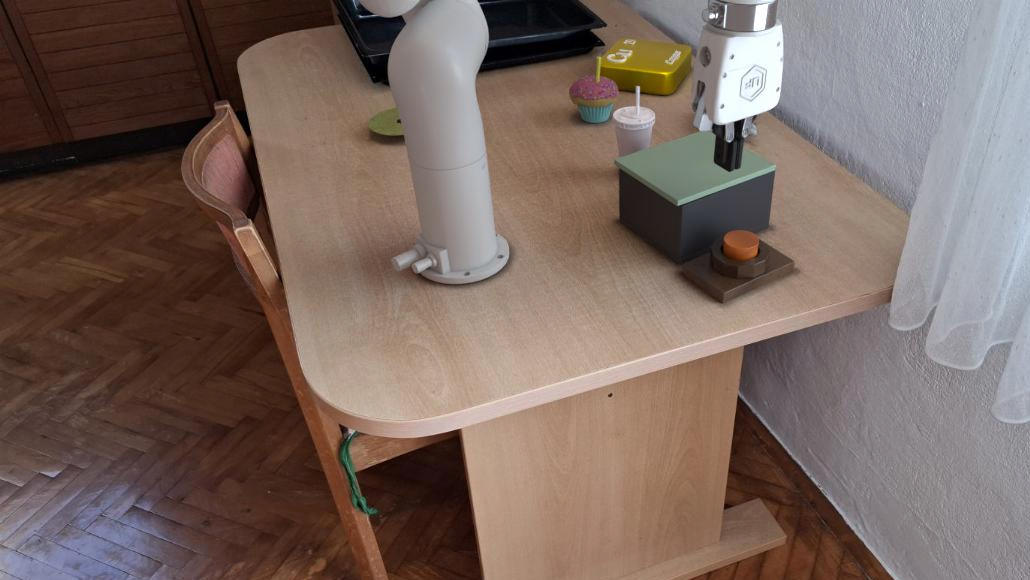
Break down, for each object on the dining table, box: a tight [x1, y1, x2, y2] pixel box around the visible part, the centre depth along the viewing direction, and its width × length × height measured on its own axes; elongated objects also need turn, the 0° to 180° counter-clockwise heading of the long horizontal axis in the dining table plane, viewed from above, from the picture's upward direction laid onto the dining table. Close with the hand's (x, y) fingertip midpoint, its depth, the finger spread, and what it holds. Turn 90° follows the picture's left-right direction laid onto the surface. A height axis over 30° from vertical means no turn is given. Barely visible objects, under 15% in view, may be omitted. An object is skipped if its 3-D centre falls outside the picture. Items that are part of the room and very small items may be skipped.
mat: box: [367, 107, 404, 136], centre depth 145 cm, size 11×11×2 cm
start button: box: [723, 230, 760, 261], centre depth 108 cm, size 4×4×2 cm
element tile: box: [600, 37, 693, 96], centre depth 160 cm, size 15×15×5 cm
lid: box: [613, 131, 777, 206], centre depth 114 cm, size 17×14×1 cm
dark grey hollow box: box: [618, 167, 776, 266], centre depth 117 cm, size 16×14×9 cm
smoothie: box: [611, 86, 656, 158], centre depth 128 cm, size 6×6×14 cm
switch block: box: [682, 236, 796, 304], centre depth 110 cm, size 12×8×4 cm, turn 124°
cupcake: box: [568, 52, 620, 124], centre depth 145 cm, size 9×8×12 cm
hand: (726, 165), depth 103 cm, fingers closed
